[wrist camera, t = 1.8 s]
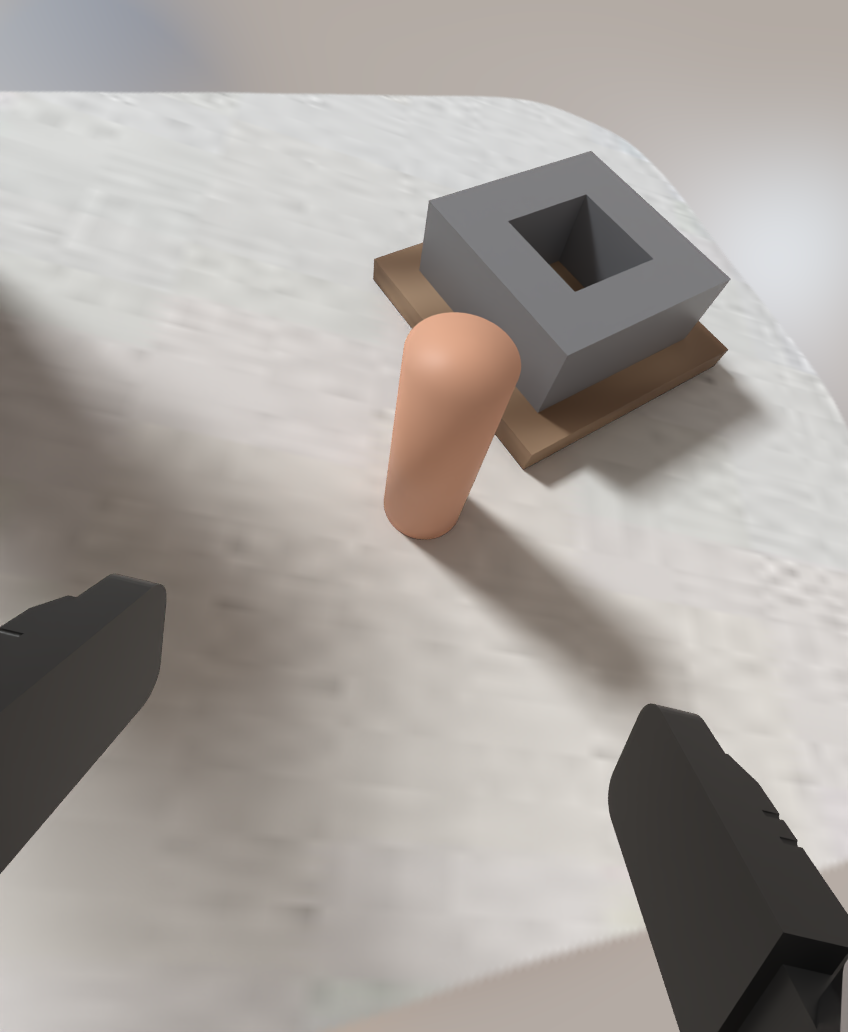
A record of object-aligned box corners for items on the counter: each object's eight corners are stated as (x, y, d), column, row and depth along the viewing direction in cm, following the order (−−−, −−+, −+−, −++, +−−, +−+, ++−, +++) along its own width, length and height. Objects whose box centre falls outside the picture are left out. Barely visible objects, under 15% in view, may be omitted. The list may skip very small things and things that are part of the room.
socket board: (373, 279, 34) (374, 259, 33) (560, 213, 40) (568, 193, 38) (523, 469, 30) (531, 455, 28) (713, 366, 35) (728, 349, 34)
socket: (419, 270, 33) (429, 200, 29) (564, 218, 37) (591, 151, 33) (537, 412, 30) (567, 355, 25) (684, 338, 33) (730, 279, 29)
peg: (369, 490, 28) (380, 336, 18) (433, 458, 29) (476, 298, 19) (410, 553, 27) (447, 424, 17) (475, 516, 28) (544, 377, 18)
